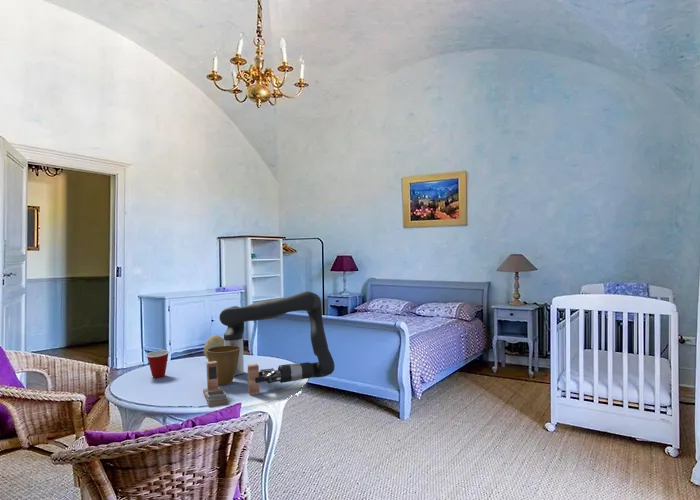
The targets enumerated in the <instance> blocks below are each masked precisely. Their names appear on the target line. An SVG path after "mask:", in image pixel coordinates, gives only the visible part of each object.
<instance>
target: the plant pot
mask: <svg viewBox="0 0 700 500" xmlns="http://www.w3.org/2000/svg"><path fill="white" fill-rule="evenodd" d="M239 351H240V347H238V346H217V347H212V348H208V349H207V356H208V359H207V362H212V361H216V362H217V373H218V386H225V385H227V386H228V385H231V384H232V383H233V381H234V378H235V376H236V375H235V372H236V368H237V363H238V358H239Z"/></svg>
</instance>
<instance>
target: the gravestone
mask: <svg viewBox="0 0 700 500" xmlns="http://www.w3.org/2000/svg"><path fill="white" fill-rule="evenodd" d="M202 392H203V395H204V398H205V401H206V403H207V406H208V408H209V407H216V406H222V405H227V404H228V400H227V393H226V391H225V389H222V388H221V387H220V386H219V385H218V373H217V362H216V361H212V362H209V361H206V388H203V389H202Z"/></svg>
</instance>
